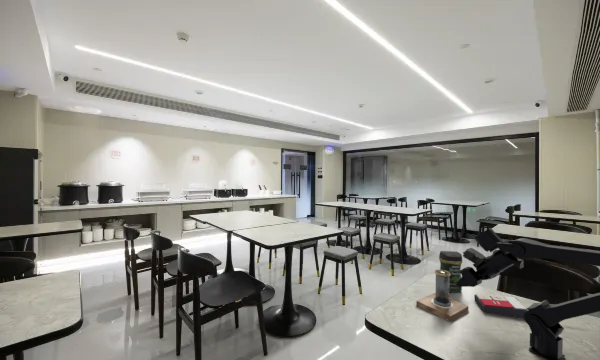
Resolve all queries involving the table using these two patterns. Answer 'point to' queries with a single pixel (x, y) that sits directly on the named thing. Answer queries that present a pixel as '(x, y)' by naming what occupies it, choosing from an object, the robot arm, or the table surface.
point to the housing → (442, 288)
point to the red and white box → (500, 305)
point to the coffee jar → (451, 268)
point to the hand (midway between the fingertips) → (463, 282)
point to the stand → (442, 308)
